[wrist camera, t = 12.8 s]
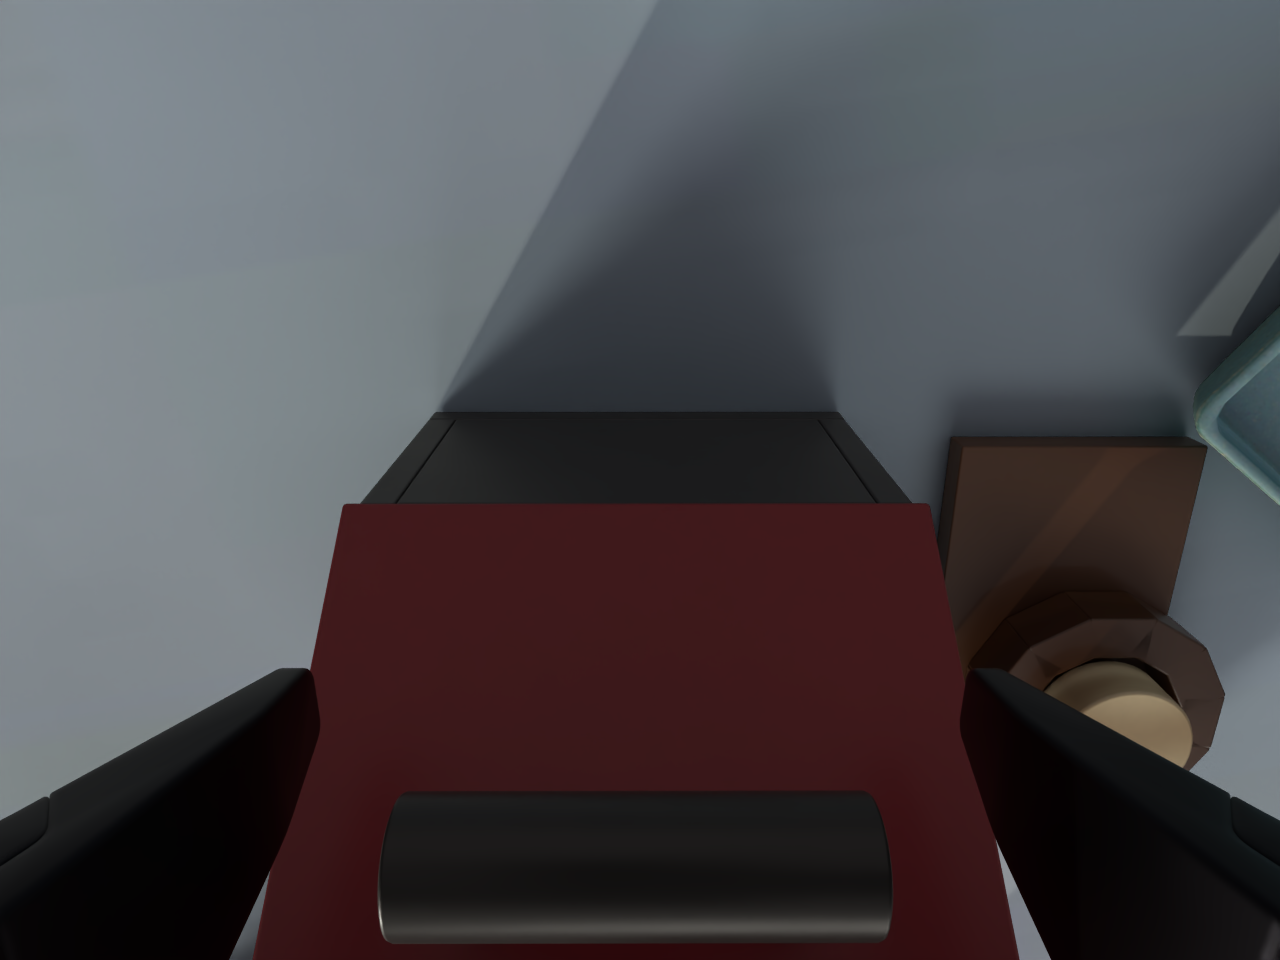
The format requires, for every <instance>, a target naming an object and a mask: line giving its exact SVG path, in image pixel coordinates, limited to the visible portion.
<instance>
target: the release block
mask: <svg viewBox="0 0 1280 960" xmlns="http://www.w3.org/2000/svg"><path fill="white" fill-rule="evenodd" d="M1206 452H1207V446H1206V445H1204V444H1202V443H1199V442H1197V441H1195V440H1193V439H1191V438H1189V437H951V442H950V450H949V457H948V465H947V473H946V480H945V488H944V495H943V503H942V511H941V518H940V526H939V533H938V541H937V545H938V550H939V555H940V560H941V565H942V570H943V575H944V580H945V585H946V590H947V596H948V601H949V606H950V611H951V616H952V621H953V626H954V631H955V636H956V641H957V646H958V651H959V656H960V661H961V666H962V671H963V676H964V681H965V682H966V677H967V675H968V672H969V671H970V670H972V669H974V668H999V669H1002V670H1004V671H1006V672H1008V673H1010V674H1012V675H1014V676H1015V677H1017V678H1019V679H1021V680H1023V681H1025V682H1026V683H1028V684H1030V685H1032V686H1034V687H1036V688H1037V689H1039V690H1041V691H1043V692H1044V690H1045V689H1046V688H1047V687H1048V686H1049V685H1050V684H1051V683H1052V682H1053V681H1054V680H1056V679H1057V678H1058V677H1060V676H1061V675H1063V674H1064V673H1066V672H1068V671H1070V670H1071V669H1073V668H1076V667H1078V666H1081V665H1084V664H1088V663H1093V662H1099V661H1116V662H1122V663H1126V664H1129V665H1132V666H1135V667H1137V668H1139V669H1141V670H1142V671H1144V672H1145V673H1147V674H1148V675H1149V676H1150V677H1151V678H1152V679H1153V680H1154V681H1155V682H1156V683H1157V684H1158V685H1159V686H1160V687H1161V688H1162V689H1163V690H1164V691H1165V692H1166V693H1167V694H1168V695H1169V696H1170V697H1171V698H1172V699H1173V700H1174V701H1175V702H1176V703H1177V704H1178V705H1179V706H1180V707H1181V708H1182V709H1183V710H1184V712H1185V713H1186V715H1187V716H1188V718H1189V721H1190V724H1191V727H1192V733H1193V744H1192V749H1191V752H1190V755H1189V758H1188V760H1187V762H1186V764H1185V765H1184V767H1183V768H1184V769H1186V770H1187V771H1189V770H1190V769H1191V768H1192V767H1193V766H1194V765H1195V764H1196V763H1197V762H1198V761H1199V760H1200V759H1201V758H1202V757H1203V756H1204V755H1205V754H1206V753H1207V752H1208V751H1209V747H1211V745H1212V741H1213V737H1214V734H1215V730H1216V727H1217V723H1218V719H1219V716H1220V712H1221V709H1222V705H1223V701H1224V696H1225V693H1224V690H1223V688H1222V685H1221V683H1220V680H1219V678H1218V675H1217V673H1216V670H1215V668H1214V665H1213V663H1212V660H1211V658H1210V655H1209V653H1208V650H1207V648H1206V647H1205V646H1204V645H1203V644H1202V643H1200V642H1199V641H1198V640H1197V639H1196V638H1195V637H1193V636H1192V635H1191V634H1190V633H1189V632H1187V631H1186V630H1185V629H1184V628H1183V627H1182V626H1180V625H1179V624H1178V623H1177V622H1176V621H1174V620H1173V619H1172V618H1170V617H1169V616H1167V614H1168V610H1169V606H1170V602H1171V598H1172V594H1173V589H1174V585H1175V581H1176V577H1177V573H1178V569H1179V565H1180V560H1181V556H1182V552H1183V548H1184V544H1185V540H1186V536H1187V531H1188V527H1189V523H1190V519H1191V515H1192V511H1193V506H1194V502H1195V498H1196V494H1197V490H1198V486H1199V482H1200V477H1201V473H1202V469H1203V465H1204V461H1205V457H1206Z"/></svg>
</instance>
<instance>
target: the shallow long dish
mask: <svg viewBox="0 0 1280 960" xmlns="http://www.w3.org/2000/svg"><path fill="white" fill-rule="evenodd" d="M1193 415H1194V421H1195V426H1196V429H1197V431H1198V433H1199V435H1200V437H1202V438H1203V439H1204V440H1205V441H1207V442H1208V443H1209V444H1210V445H1211V446H1212V447H1213V448H1215V449H1216V450H1217V451H1218V452H1219V453H1220V454H1222V455H1223V456H1224V457H1225V458H1226V459H1227V460H1228V461H1229V462H1230V463H1231V464H1232V465H1233V466H1235V467H1236V468H1237V469H1239V470H1240V471H1241V472H1242V473H1243V474H1244V475H1245V476H1246V477H1247V478H1249V479H1250V480H1251V481H1252V482H1253V483H1254V484H1255V485H1256V486H1258V487H1259V488H1260V489H1261V490H1262V491H1263V492H1264V493H1266V494H1267V495H1268V496H1269V497H1270V498H1271V499H1272V500H1274V501H1275V502H1276V503H1277V504H1278V505H1279V506H1280V306H1279V307H1278V308H1277V309H1276V310H1275V311H1274V312H1273V313H1272V314H1271V315H1270V316H1269V317H1268V318H1267V319H1266V320H1265V321H1264V322H1263V323H1262V324H1261V325H1260V326H1259V327H1258V328H1257V329H1256V330H1255V331H1254V332H1253V333H1252V334H1251V335H1250V336H1249V337H1248V338H1247V339H1246V340H1245V341H1244V342H1243V343H1242V344H1241V345H1240V346H1239V347H1237V348H1236V349H1235V350H1234V351H1233V352H1232V353H1231V354H1230V355H1229V356H1228V357H1227V358H1226V359H1225V360H1224V361H1223V362H1222V363H1221V364H1220V365H1219V366H1218V367H1217V368H1216V369H1215V370H1214V371H1213V372H1212V373H1211V375H1210V376H1209V377H1208V378H1207V379H1206V380H1205V381H1204V382H1203V383H1202V384H1201V385H1200V386H1199V388H1198V390H1197V391H1196V393H1195V397H1194V404H1193Z"/></svg>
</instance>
